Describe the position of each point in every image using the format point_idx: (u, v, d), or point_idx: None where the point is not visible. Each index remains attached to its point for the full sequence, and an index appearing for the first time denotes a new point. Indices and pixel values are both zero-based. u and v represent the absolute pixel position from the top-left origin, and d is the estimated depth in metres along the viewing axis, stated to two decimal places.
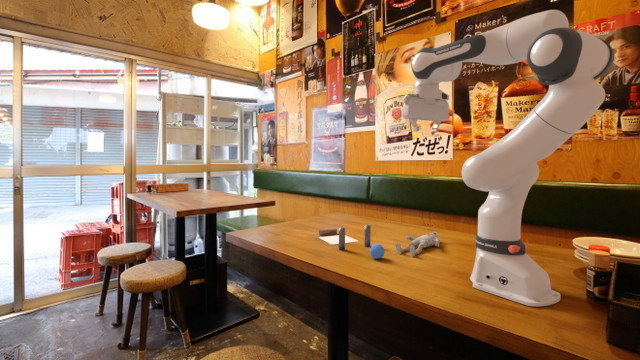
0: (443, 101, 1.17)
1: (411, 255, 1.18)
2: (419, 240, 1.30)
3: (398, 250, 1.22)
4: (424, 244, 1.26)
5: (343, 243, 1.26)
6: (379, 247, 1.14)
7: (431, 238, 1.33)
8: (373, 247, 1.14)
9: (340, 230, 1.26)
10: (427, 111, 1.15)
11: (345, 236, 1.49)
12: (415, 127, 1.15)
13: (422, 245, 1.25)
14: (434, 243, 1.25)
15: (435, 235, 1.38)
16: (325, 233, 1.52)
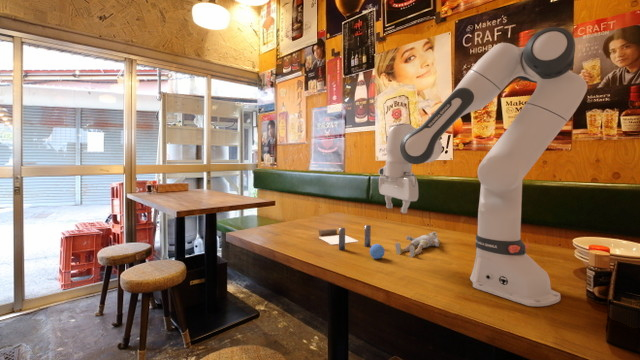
0: None
1: (411, 255, 1.18)
2: (419, 240, 1.30)
3: (398, 250, 1.21)
4: (424, 244, 1.26)
5: (343, 243, 1.26)
6: (379, 247, 1.14)
7: (431, 238, 1.33)
8: (373, 247, 1.14)
9: (340, 230, 1.26)
10: None
11: (345, 236, 1.49)
12: (406, 209, 1.03)
13: (422, 245, 1.25)
14: (434, 243, 1.25)
15: (435, 235, 1.38)
16: (325, 233, 1.52)
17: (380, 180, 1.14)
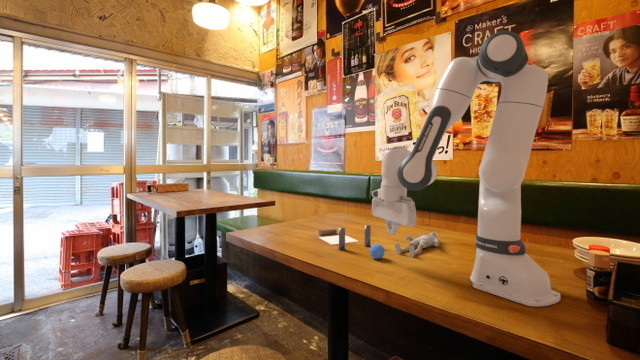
0: None
1: (411, 255, 1.17)
2: (418, 240, 1.30)
3: (398, 250, 1.21)
4: (424, 244, 1.26)
5: (343, 243, 1.26)
6: (379, 247, 1.14)
7: (430, 238, 1.33)
8: (373, 247, 1.14)
9: (340, 230, 1.26)
10: None
11: (345, 236, 1.49)
12: (395, 230, 1.06)
13: (422, 245, 1.25)
14: (434, 243, 1.25)
15: (434, 235, 1.38)
16: (325, 233, 1.52)
17: (373, 202, 1.13)
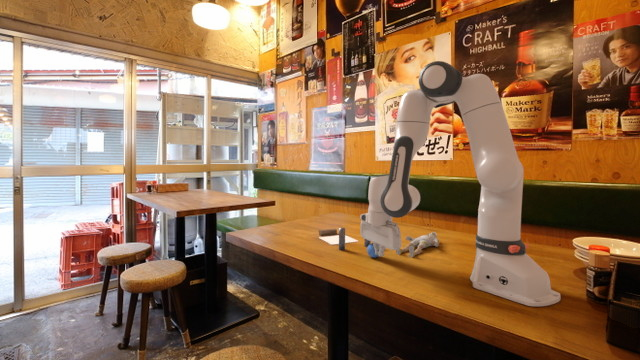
0: None
1: (411, 256, 1.17)
2: (418, 240, 1.29)
3: (397, 251, 1.21)
4: (423, 244, 1.26)
5: (343, 243, 1.26)
6: None
7: (430, 238, 1.32)
8: (369, 245, 1.17)
9: (340, 230, 1.26)
10: None
11: (345, 236, 1.49)
12: (382, 252, 1.12)
13: (421, 245, 1.25)
14: (433, 243, 1.25)
15: (434, 235, 1.38)
16: (325, 233, 1.52)
17: (362, 225, 1.19)
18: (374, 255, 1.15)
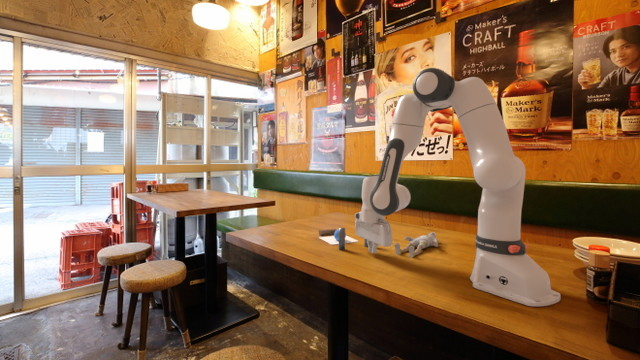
0: None
1: (411, 256, 1.17)
2: (418, 241, 1.29)
3: (397, 251, 1.21)
4: (423, 245, 1.25)
5: (343, 243, 1.26)
6: None
7: (430, 238, 1.32)
8: (337, 239, 1.40)
9: (340, 230, 1.26)
10: None
11: None
12: (375, 249, 1.17)
13: (421, 246, 1.24)
14: (433, 244, 1.25)
15: (433, 235, 1.37)
16: (325, 233, 1.52)
17: (356, 223, 1.24)
18: None
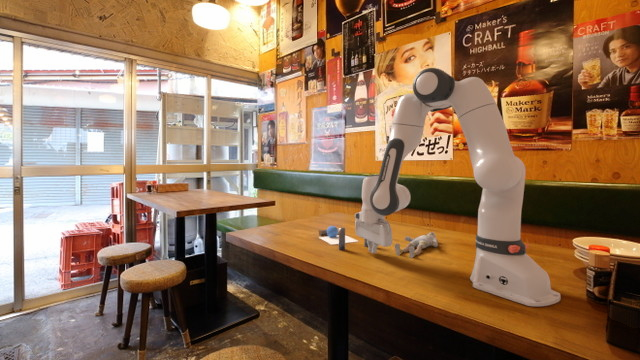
0: None
1: (411, 256, 1.17)
2: (418, 241, 1.29)
3: (397, 251, 1.20)
4: (423, 245, 1.25)
5: (343, 243, 1.26)
6: (332, 227, 1.47)
7: (429, 238, 1.32)
8: (328, 228, 1.48)
9: (340, 230, 1.26)
10: None
11: (345, 236, 1.49)
12: (375, 249, 1.17)
13: (421, 246, 1.24)
14: (433, 244, 1.25)
15: (433, 235, 1.37)
16: (325, 233, 1.52)
17: (356, 223, 1.24)
18: (331, 235, 1.46)
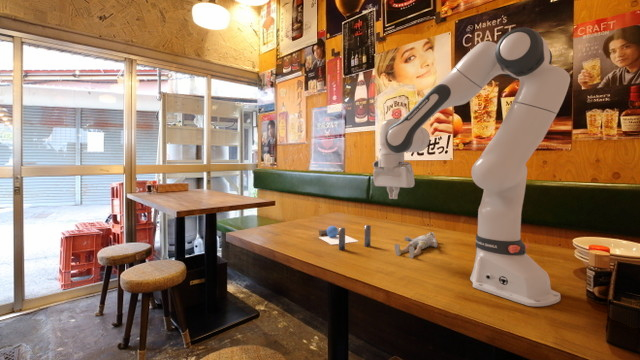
0: None
1: (411, 256, 1.16)
2: (417, 241, 1.29)
3: (397, 251, 1.20)
4: (423, 245, 1.25)
5: (343, 243, 1.26)
6: (332, 227, 1.47)
7: (429, 239, 1.32)
8: (328, 228, 1.48)
9: (340, 230, 1.26)
10: None
11: (345, 236, 1.49)
12: (396, 195, 1.16)
13: (421, 246, 1.24)
14: (433, 244, 1.24)
15: (432, 236, 1.37)
16: (325, 233, 1.52)
17: (375, 173, 1.23)
18: (331, 235, 1.46)
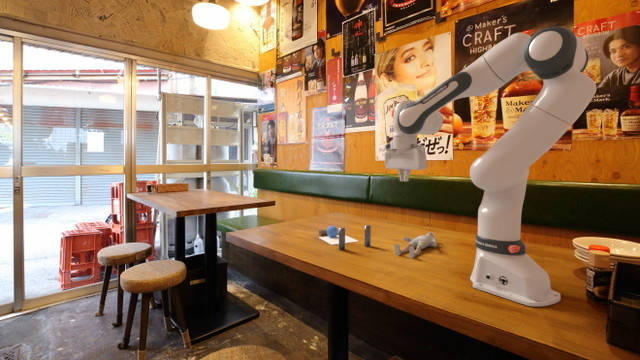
0: None
1: (411, 257, 1.16)
2: (417, 241, 1.28)
3: (397, 252, 1.19)
4: (422, 245, 1.25)
5: (343, 243, 1.26)
6: (332, 227, 1.47)
7: (428, 239, 1.32)
8: (328, 228, 1.48)
9: (340, 230, 1.26)
10: None
11: (345, 236, 1.49)
12: (407, 177, 1.16)
13: (420, 246, 1.24)
14: (432, 244, 1.24)
15: (431, 236, 1.37)
16: (325, 233, 1.52)
17: (386, 155, 1.23)
18: (331, 235, 1.46)
